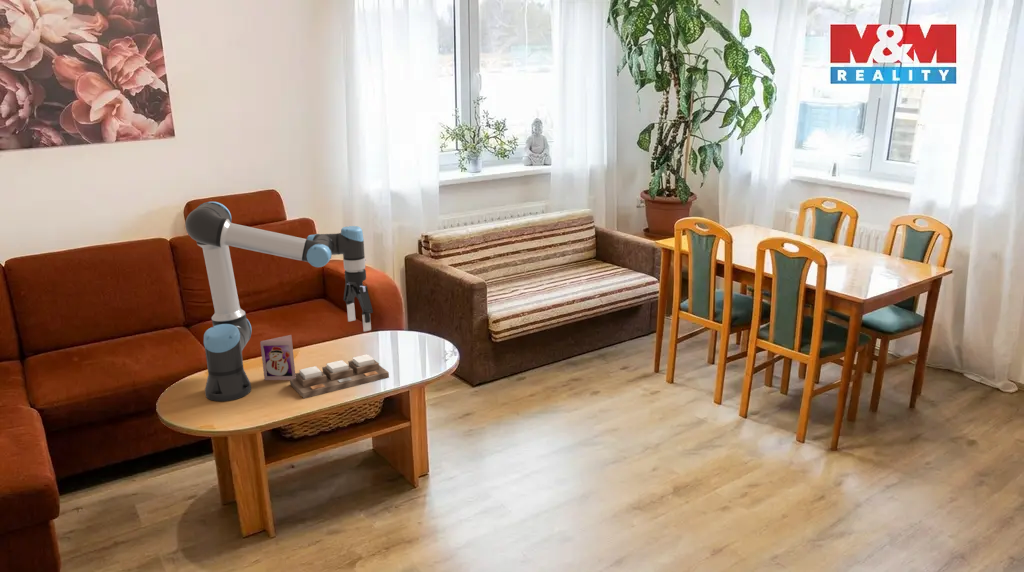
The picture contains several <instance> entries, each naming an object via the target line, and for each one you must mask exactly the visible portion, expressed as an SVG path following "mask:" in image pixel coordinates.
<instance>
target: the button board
mask: <svg viewBox="0 0 1024 572" xmlns="http://www.w3.org/2000/svg"><path fill="white" fill-rule="evenodd" d="M347 364H348V367H349V370H344V371H340V372H336V373H331V372H330V371H329V370H328V369H327V365H326V366H322V368H321V369H322V376H319V377H315V378H311V379H306V380H304V379H303V378H302V377H301V376H300V371H299V372H295V376H296V378H295V379H291V380H289V386H291V387H292V388H293V390H294V391H295V392H297V394H299V395H300V397H301V396H302V397H303V398H302V397H301V398H302V399H303V400H304V399H308V398H311V397H316V396H319V395H324V394H329V393H331V392H332V393H333V392H336V391H339V390H344V389H348V388H352V387H356V386H360V385H363V384H368V383H371V382H377V381H379V380H380V381H381V380H384V379H388V378H390V373H389V371H387V370H386V369H385V368H384V367H382V366H381V365H380V363H379V362H378V361H376V359H374V364H370V365H366V366H361V367H358V366H356V365H355V364H354V363H353V359H351V360H348V363H347ZM318 369H319V370H321V369H320V368H318Z"/></svg>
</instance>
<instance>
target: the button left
mask: <svg viewBox="0 0 1024 572" xmlns="http://www.w3.org/2000/svg"><path fill="white" fill-rule="evenodd" d="M319 369H320V368H319V367H317V365H315V366H310V367H305V368H301V369H299V372H300V376H301V377H302V378H303V379H304V380H306V379H311V378H315V377H319V376H322V372H323V370H321V369H320V370H319Z"/></svg>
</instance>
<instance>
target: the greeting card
mask: <svg viewBox="0 0 1024 572" xmlns="http://www.w3.org/2000/svg"><path fill="white" fill-rule="evenodd" d="M259 342H260V343H259V344H260V352H261V361H262V370H263V378H264V381H290V380H291V379H295V378H296V375H295V373H296V367H295V359H294V348H293V338H292V334H289V335H283V336H279V337H274V338H271V339H270V338H269V339H266V340H260V341H259Z"/></svg>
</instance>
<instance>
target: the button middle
mask: <svg viewBox="0 0 1024 572" xmlns="http://www.w3.org/2000/svg"><path fill="white" fill-rule="evenodd" d="M325 365H326V366H327V369H328V370H329V371H330V372H331V373H336V372H340V371H344V370H349V367H348V366H349V363H346V362H345V361H344V360H343V359H341V360H335V361H332V362H328V363H326V364H325Z"/></svg>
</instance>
